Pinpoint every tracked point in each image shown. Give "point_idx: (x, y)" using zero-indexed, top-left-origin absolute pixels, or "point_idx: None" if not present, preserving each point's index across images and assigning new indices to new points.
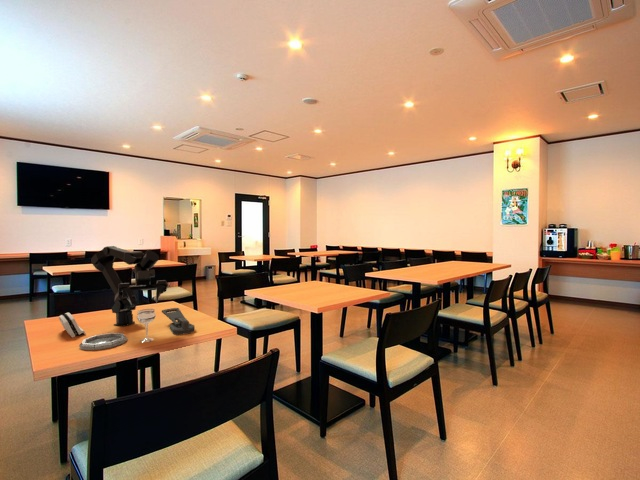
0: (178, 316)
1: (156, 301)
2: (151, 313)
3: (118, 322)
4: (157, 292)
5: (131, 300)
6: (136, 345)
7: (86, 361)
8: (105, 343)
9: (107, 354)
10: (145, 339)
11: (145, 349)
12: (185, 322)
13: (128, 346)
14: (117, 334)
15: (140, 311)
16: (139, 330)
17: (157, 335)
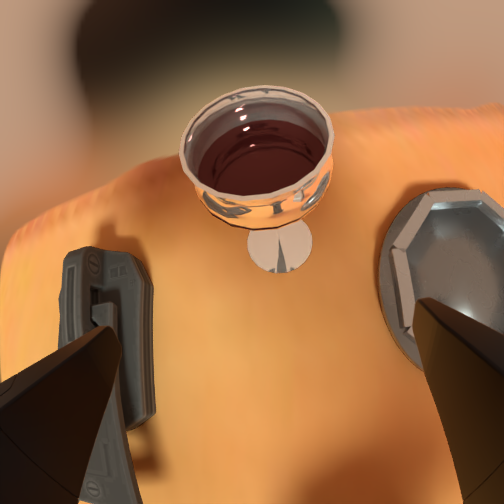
0: None
1: (105, 328)
2: (220, 115)
3: None
4: (2, 399)
5: (462, 324)
6: None
7: (442, 108)
8: (448, 191)
9: (407, 132)
10: (286, 228)
11: None
12: (77, 249)
13: (355, 184)
14: None
15: (307, 182)
16: (317, 467)
17: (225, 304)
